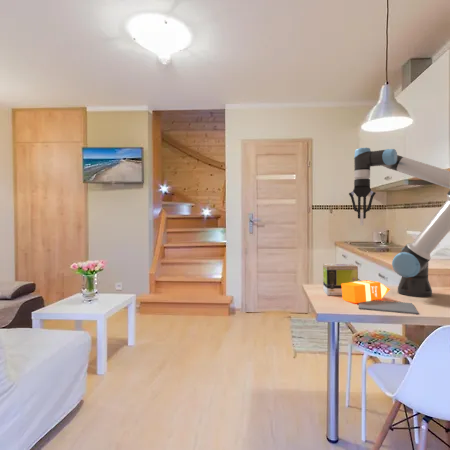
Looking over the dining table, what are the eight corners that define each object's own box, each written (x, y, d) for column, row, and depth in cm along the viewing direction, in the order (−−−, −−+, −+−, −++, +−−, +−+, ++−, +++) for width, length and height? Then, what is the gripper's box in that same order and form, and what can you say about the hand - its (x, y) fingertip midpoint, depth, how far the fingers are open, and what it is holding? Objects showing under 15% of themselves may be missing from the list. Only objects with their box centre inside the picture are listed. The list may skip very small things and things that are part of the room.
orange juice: (354, 285, 149) (389, 280, 155) (341, 283, 157) (375, 278, 164) (355, 303, 149) (391, 297, 155) (342, 300, 157) (377, 294, 163)
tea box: (352, 291, 174) (352, 263, 174) (358, 296, 164) (358, 266, 164) (322, 291, 175) (323, 262, 175) (326, 295, 165) (326, 265, 165)
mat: (411, 304, 148) (411, 303, 148) (418, 314, 134) (418, 312, 134) (358, 300, 156) (358, 298, 156) (358, 308, 141) (358, 307, 141)
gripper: (375, 179, 173) (375, 225, 174) (348, 180, 178) (348, 224, 178) (376, 177, 166) (376, 225, 167) (348, 178, 171) (348, 225, 171)
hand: (361, 225), depth 173 cm, fingers closed
